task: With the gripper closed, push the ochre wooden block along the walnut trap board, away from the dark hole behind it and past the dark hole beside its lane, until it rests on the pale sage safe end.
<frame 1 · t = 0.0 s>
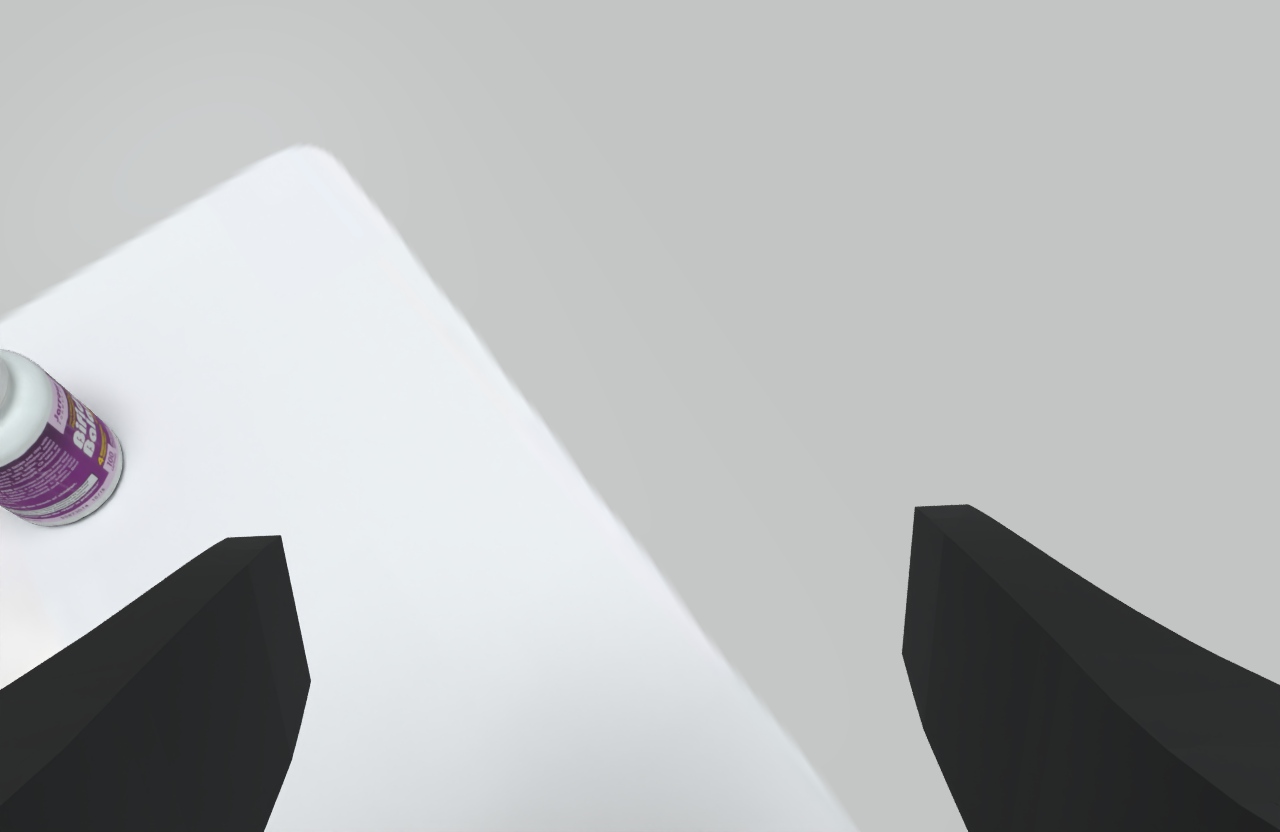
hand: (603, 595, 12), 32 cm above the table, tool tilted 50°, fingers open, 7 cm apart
pill bottle: (70, 473, 47), on the table
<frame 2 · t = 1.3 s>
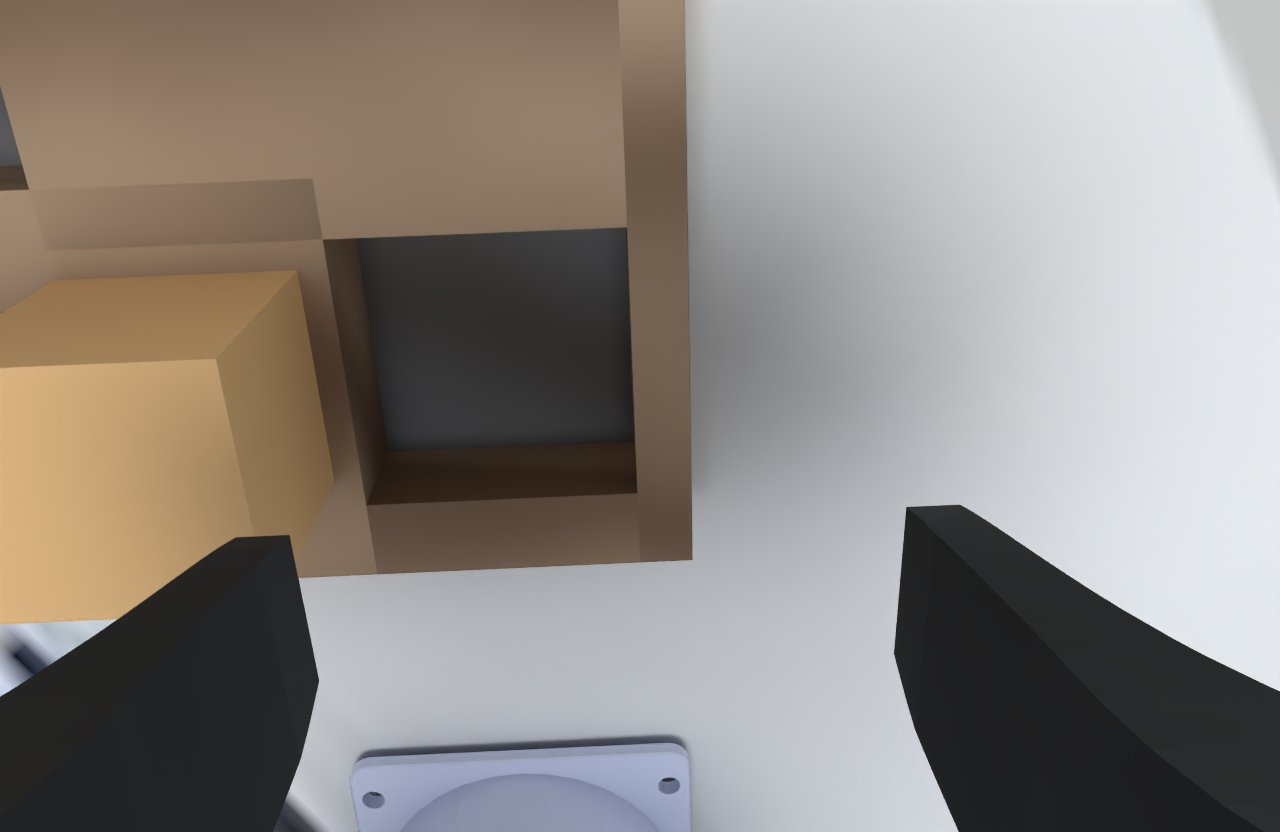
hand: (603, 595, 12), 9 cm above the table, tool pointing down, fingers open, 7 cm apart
trap board: (159, 184, 19), on the table
block: (201, 386, 18), point 2 cm above the table, touching trap board
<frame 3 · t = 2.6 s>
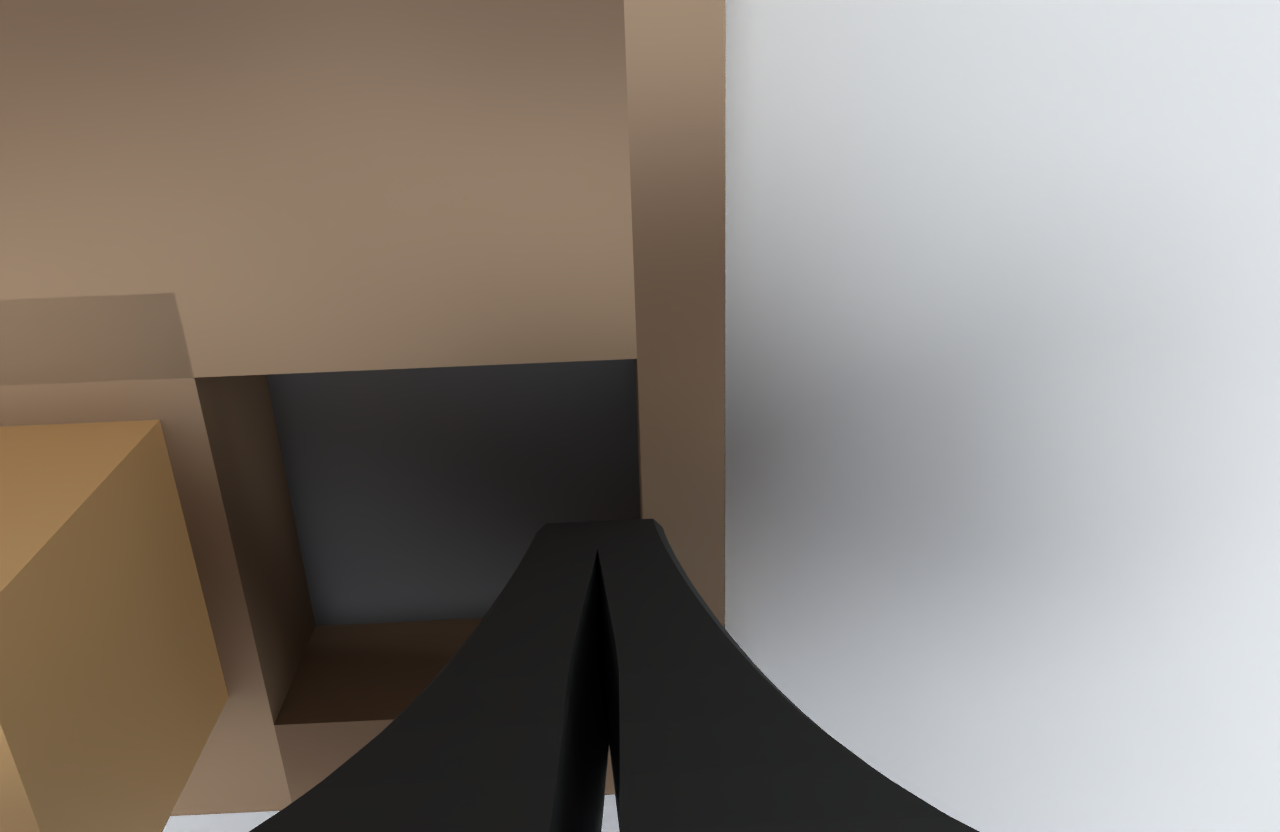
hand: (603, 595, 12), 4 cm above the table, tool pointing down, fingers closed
block: (32, 574, 13), point 2 cm above the table, touching trap board
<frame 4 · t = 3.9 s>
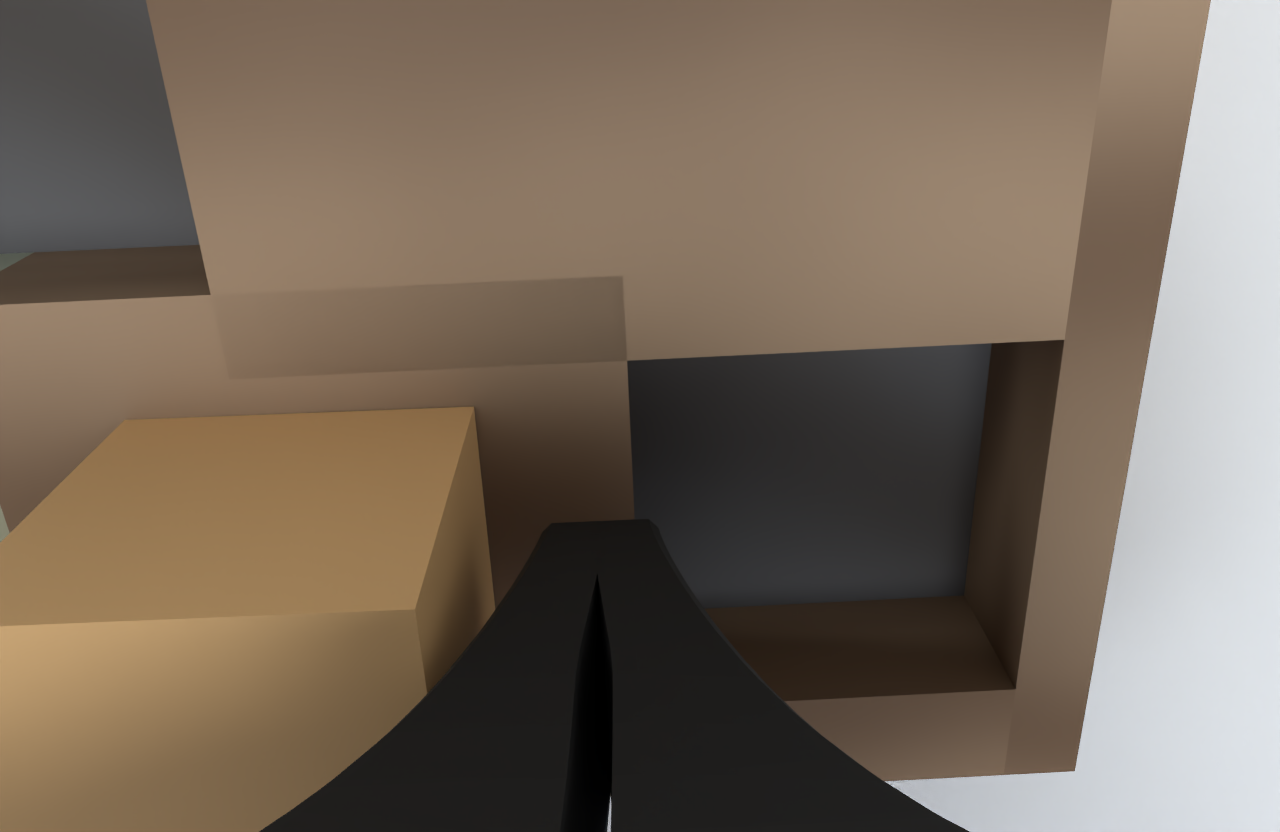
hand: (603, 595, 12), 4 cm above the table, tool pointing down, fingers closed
trap board: (358, 268, 14), on the table
block: (326, 561, 13), point 3 cm above the table, touching gripper
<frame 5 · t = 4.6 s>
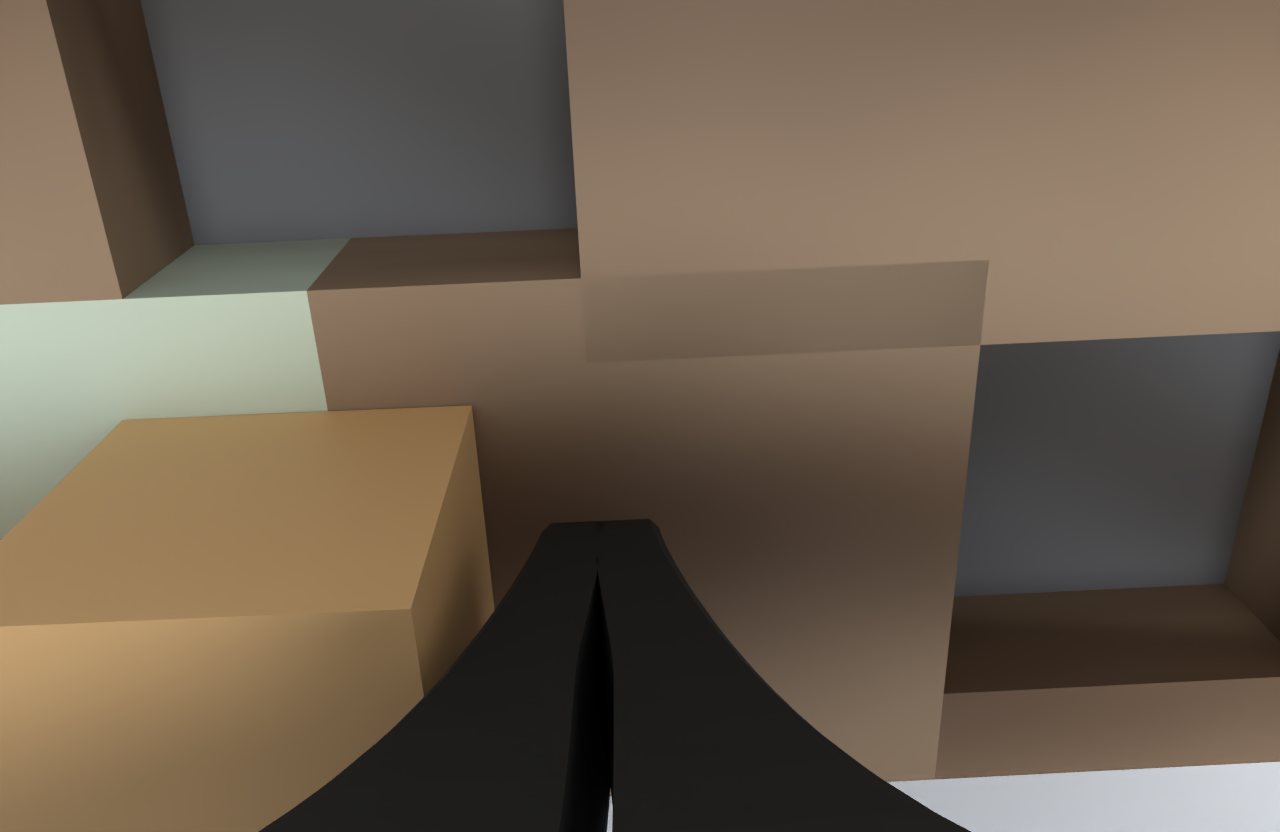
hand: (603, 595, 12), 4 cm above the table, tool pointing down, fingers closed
trap board: (661, 255, 14), on the table
block: (325, 560, 13), point 3 cm above the table, touching gripper, trap board
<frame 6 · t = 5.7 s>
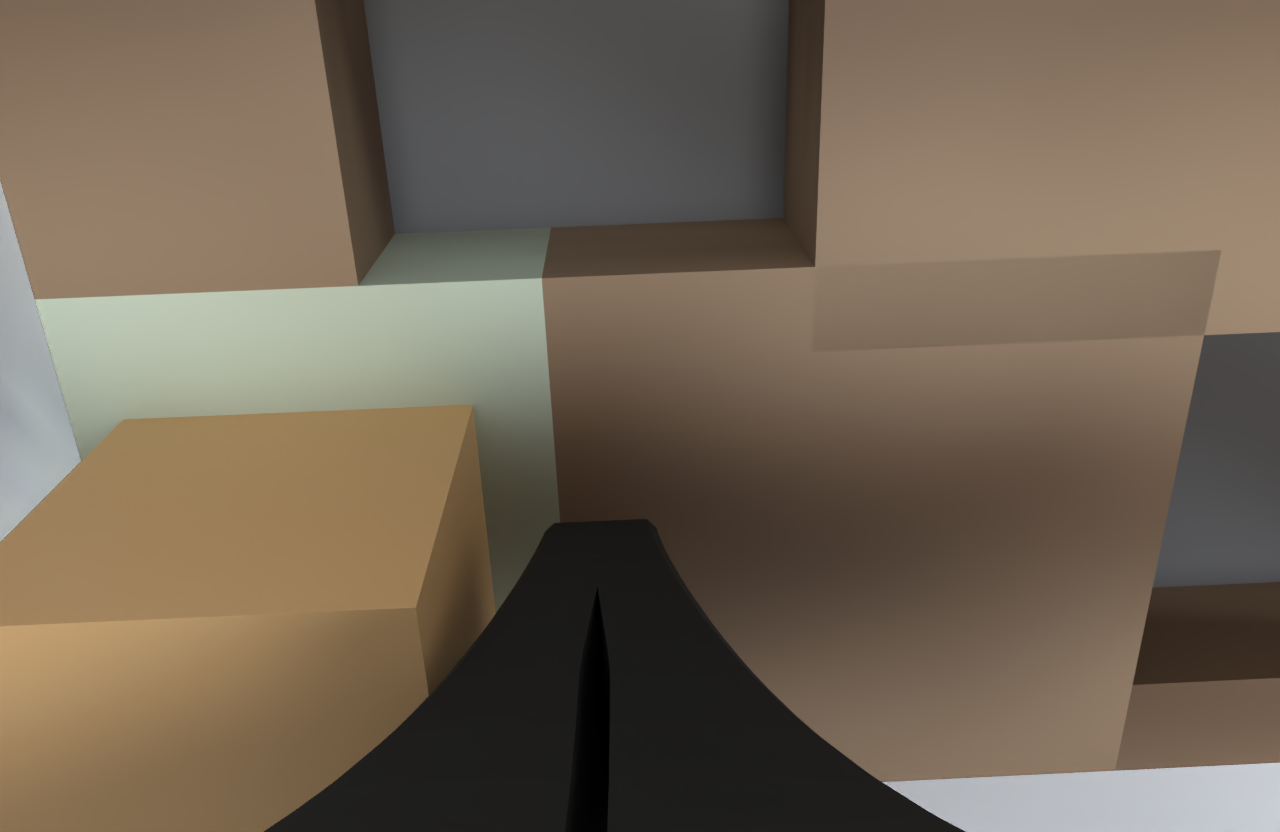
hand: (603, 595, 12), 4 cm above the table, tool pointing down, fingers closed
trap board: (853, 246, 14), on the table
block: (326, 560, 13), point 2 cm above the table, touching gripper, trap board
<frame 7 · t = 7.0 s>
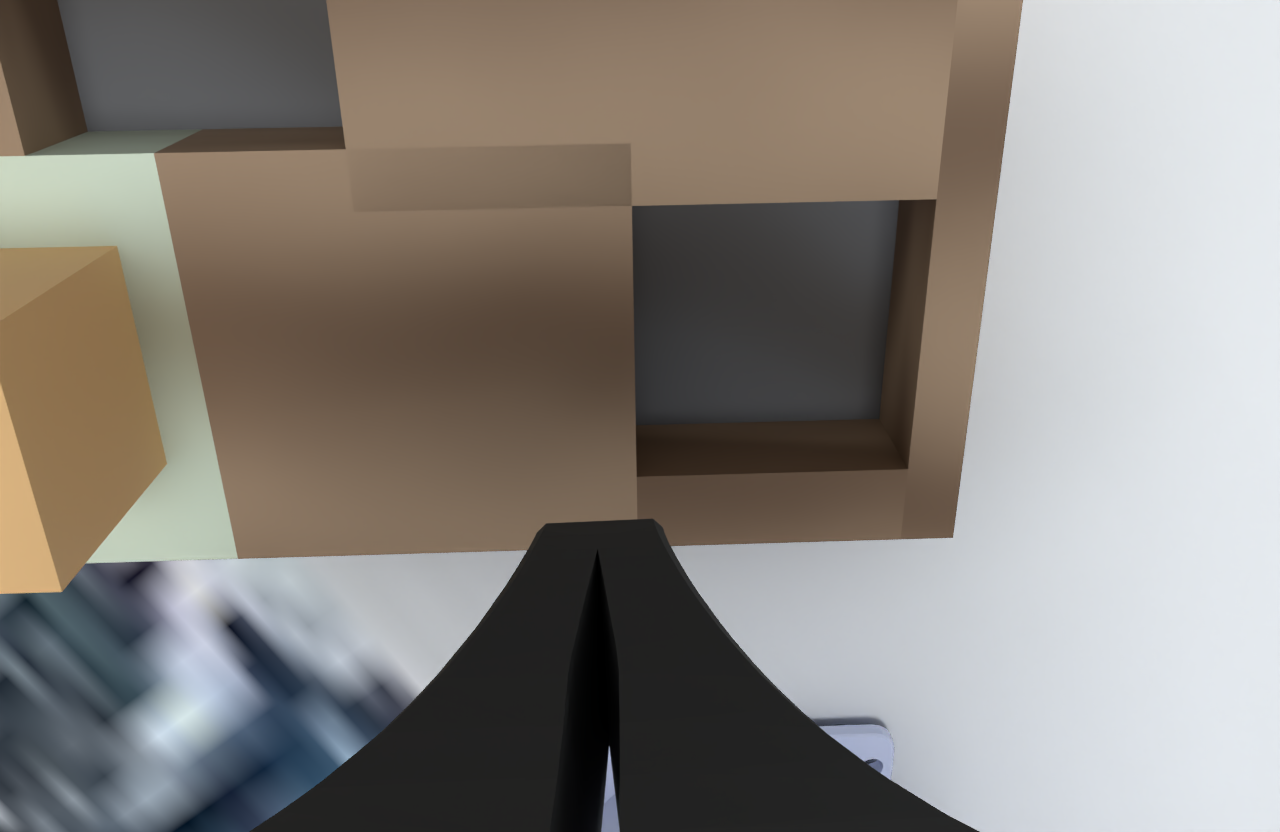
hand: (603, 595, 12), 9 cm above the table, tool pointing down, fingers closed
trap board: (435, 150, 19), on the table
block: (24, 362, 18), point 2 cm above the table, touching trap board
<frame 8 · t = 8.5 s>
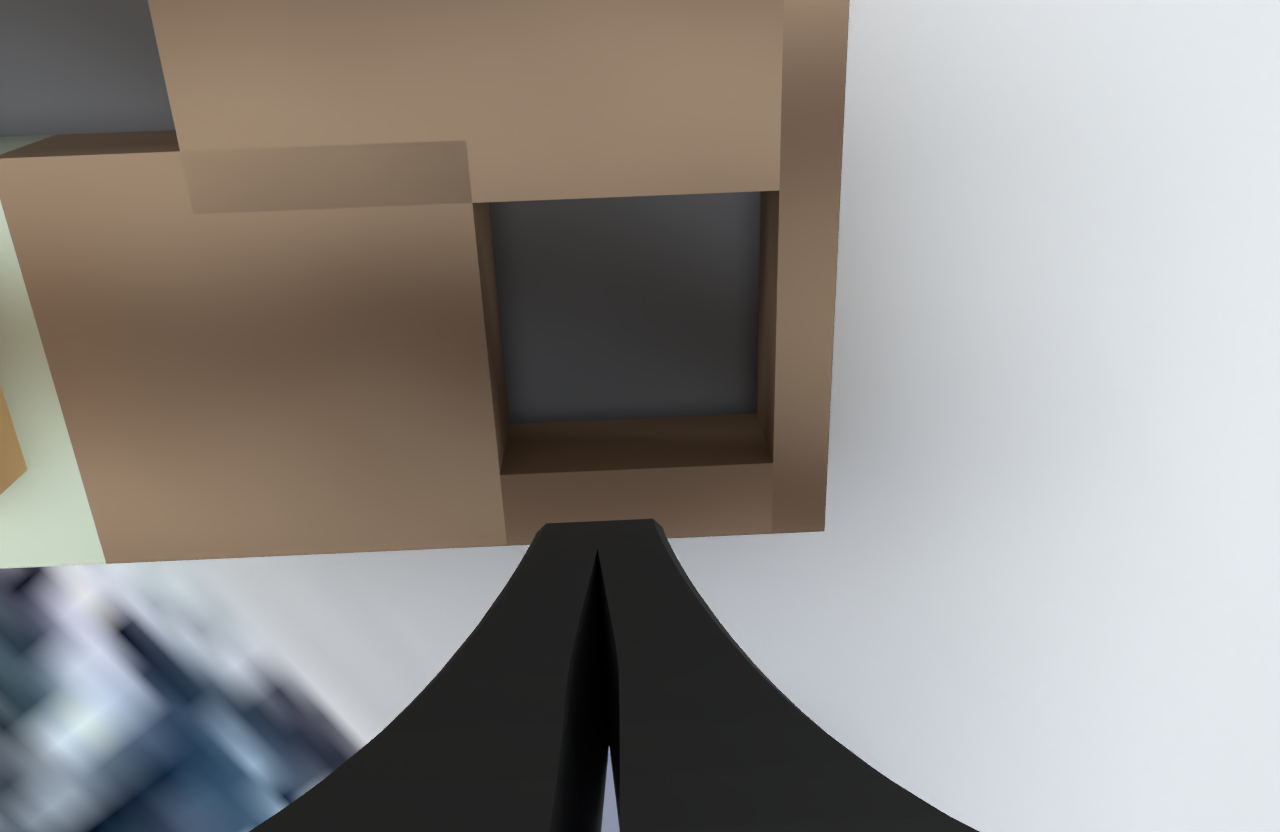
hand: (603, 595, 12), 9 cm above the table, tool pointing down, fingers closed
trap board: (292, 151, 19), on the table
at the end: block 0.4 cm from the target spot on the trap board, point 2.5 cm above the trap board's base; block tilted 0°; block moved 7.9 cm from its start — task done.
